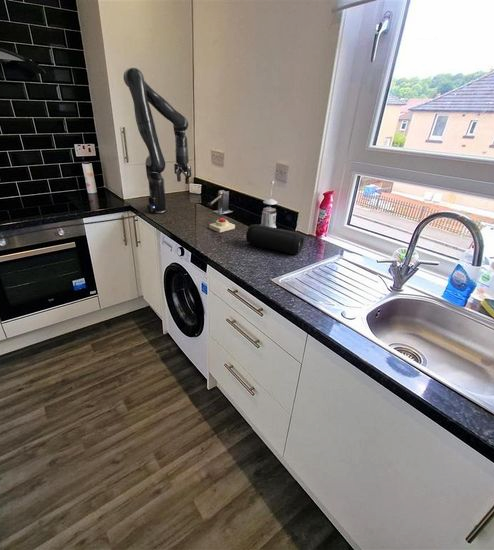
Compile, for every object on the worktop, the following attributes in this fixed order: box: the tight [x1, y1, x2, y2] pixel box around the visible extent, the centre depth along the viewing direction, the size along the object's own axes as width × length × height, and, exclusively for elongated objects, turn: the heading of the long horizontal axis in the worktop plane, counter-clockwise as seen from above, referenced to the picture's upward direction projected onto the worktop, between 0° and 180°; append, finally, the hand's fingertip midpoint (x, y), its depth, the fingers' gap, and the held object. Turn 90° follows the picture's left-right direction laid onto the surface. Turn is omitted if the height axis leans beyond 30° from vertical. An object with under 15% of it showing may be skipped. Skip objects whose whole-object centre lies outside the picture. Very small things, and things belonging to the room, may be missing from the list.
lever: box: [206, 191, 226, 209], centre depth 186 cm, size 15×3×3 cm, turn 131°
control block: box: [208, 219, 236, 233], centre depth 168 cm, size 11×9×4 cm
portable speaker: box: [245, 223, 305, 255], centre depth 143 cm, size 26×10×10 cm, turn 61°
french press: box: [259, 180, 278, 228], centre depth 168 cm, size 10×12×25 cm
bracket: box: [212, 189, 234, 215], centre depth 190 cm, size 10×8×14 cm
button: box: [218, 217, 227, 223], centre depth 167 cm, size 4×4×2 cm
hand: (183, 182), depth 189 cm, fingers open, 8 cm apart
